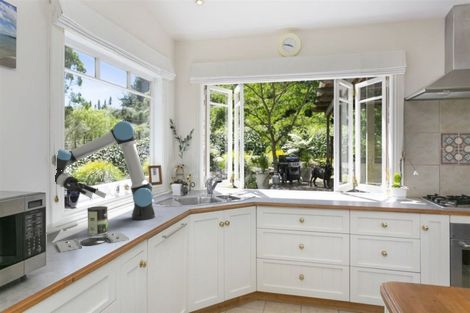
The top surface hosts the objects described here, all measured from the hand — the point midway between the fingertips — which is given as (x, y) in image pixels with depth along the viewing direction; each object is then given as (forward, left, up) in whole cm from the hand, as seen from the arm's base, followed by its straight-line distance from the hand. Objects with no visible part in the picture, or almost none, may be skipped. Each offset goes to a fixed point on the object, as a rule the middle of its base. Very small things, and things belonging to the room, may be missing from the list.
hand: (98, 195), depth 179 cm
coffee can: (+2, +5, -20) cm, 21 cm away
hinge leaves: (+8, +21, -20) cm, 30 cm away
